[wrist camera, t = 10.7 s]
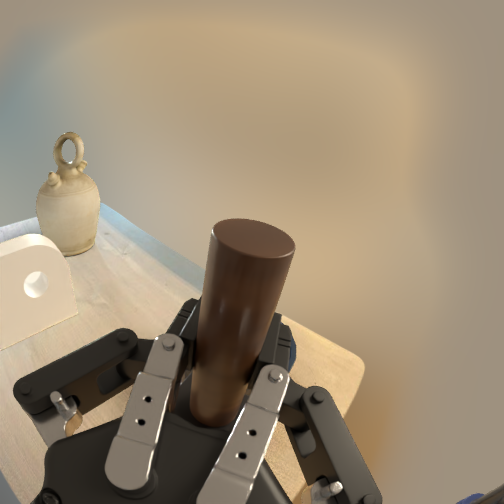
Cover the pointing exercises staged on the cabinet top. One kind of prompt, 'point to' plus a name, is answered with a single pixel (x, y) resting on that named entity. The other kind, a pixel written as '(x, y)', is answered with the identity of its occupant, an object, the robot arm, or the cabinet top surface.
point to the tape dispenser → (32, 288)
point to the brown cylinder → (233, 319)
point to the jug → (69, 202)
